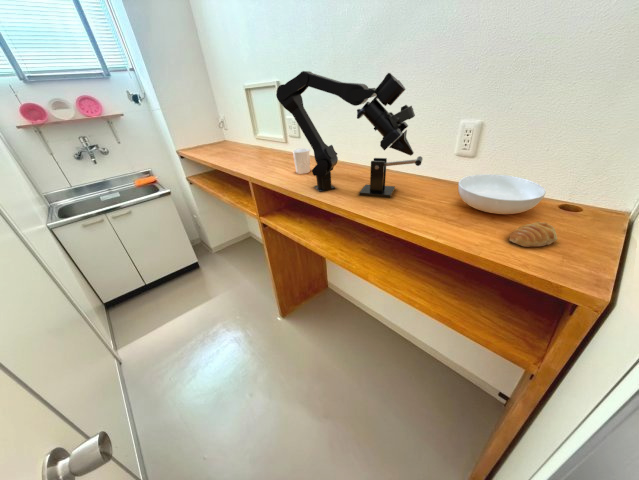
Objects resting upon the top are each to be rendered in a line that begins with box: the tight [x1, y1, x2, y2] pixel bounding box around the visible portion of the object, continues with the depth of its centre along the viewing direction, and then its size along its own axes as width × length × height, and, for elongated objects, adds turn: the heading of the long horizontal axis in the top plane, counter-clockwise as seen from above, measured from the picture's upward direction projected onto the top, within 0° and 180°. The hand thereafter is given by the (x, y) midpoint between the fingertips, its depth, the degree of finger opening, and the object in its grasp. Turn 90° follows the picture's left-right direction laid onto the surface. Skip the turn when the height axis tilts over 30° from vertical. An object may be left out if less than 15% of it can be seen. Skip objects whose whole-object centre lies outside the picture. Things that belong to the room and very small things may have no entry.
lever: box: [382, 155, 424, 167], centre depth 84 cm, size 15×5×2 cm, turn 66°
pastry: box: [509, 221, 558, 248], centre depth 58 cm, size 9×7×4 cm
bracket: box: [358, 157, 396, 199], centre depth 89 cm, size 11×9×12 cm
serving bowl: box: [457, 173, 547, 215], centre depth 74 cm, size 21×21×7 cm
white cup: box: [292, 148, 311, 175], centre depth 119 cm, size 8×8×10 cm
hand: (412, 154), depth 81 cm, fingers closed
